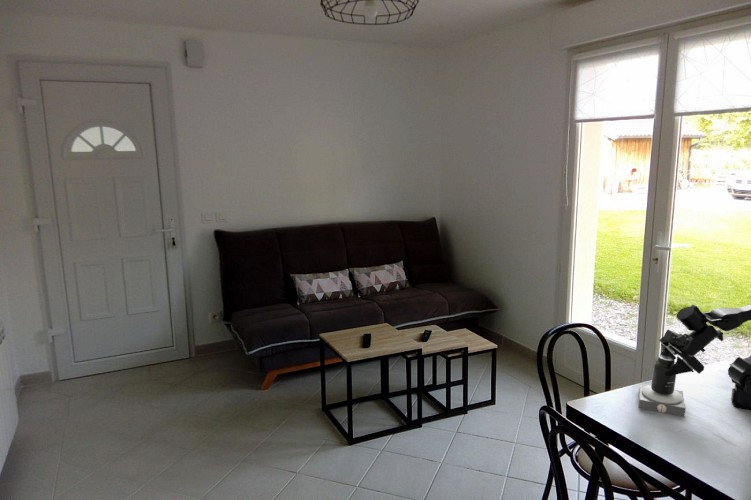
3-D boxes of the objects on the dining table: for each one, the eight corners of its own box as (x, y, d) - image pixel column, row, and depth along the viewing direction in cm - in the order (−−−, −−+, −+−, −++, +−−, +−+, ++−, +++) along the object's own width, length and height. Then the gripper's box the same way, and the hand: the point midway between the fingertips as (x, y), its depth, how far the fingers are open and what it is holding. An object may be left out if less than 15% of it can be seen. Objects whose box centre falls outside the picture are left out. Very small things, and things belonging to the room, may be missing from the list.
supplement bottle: (671, 397, 170) (675, 363, 167) (648, 391, 174) (652, 358, 171) (675, 389, 175) (680, 356, 172) (653, 383, 179) (657, 351, 176)
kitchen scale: (681, 399, 178) (682, 389, 177) (684, 417, 166) (685, 406, 165) (639, 391, 184) (640, 381, 183) (639, 408, 172) (640, 398, 171)
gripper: (667, 313, 178) (632, 344, 181) (698, 333, 160) (658, 366, 163) (688, 335, 180) (653, 365, 182) (721, 357, 161) (681, 390, 164)
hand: (660, 370), depth 173 cm, fingers closed on supplement bottle, 7 cm apart
